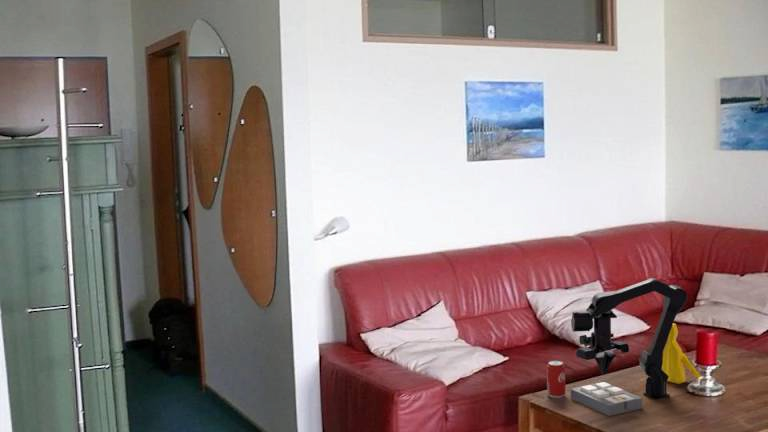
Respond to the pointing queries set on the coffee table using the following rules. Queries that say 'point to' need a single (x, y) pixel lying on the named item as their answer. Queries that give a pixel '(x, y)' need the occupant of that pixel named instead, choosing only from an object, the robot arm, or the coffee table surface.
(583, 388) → the button
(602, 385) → the button
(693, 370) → the figure statuette
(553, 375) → the beverage can
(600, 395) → the button
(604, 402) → the panel
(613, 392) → the button
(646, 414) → the coffee table surface
